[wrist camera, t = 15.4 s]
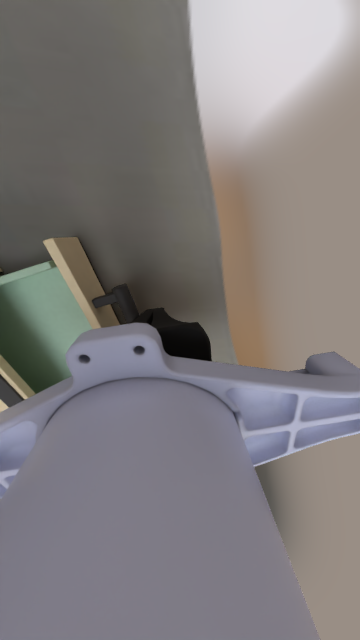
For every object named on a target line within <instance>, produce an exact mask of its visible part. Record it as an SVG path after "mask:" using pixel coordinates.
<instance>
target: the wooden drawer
mask: <svg viewBox="0 0 360 640" xmlns="http://www.w3.org/2000/svg"><path fill="white" fill-rule="evenodd" d="M43 243H44V245H45V246H46V248H47V250H48V252H49V253H50V255H51V257H52V259H53V260H51V261H47V262H44V263H41V264H38V265H35V266H31V267H28V268H25V269H22V270H19V271H16V272H13V273H10V274H6V275H3V276H0V355H1V356H2V357H3V358H4V359H5V360H6V361H7V362H8V364H9V365H10V366H11V367H12V368H13V369H14V370H15V371H16V372H17V374H18V375H19V376H20V377H21V378H22V379H23V380H24V381H25V382H26V384H27V385H28V386H29V387H30V388H31V389H32V390H33V391H34V392H35V394H37V393H39V392H41V391H43V390H45V389H47V388H49V387H51V386H53V385H55V384H57V383H59V382H61V381H63V380H65V379H67V378H69V377H71V376H72V374H71V372H70V370H69V368H68V366H67V363H66V357H65V354H66V353H67V351H68V349H69V348H70V346H71V345H72V344H73V343H74V342H75V340H76V339H77V338H78V337H79V336H80V334H81V333H84V332H86V331H88V330H91V329H98V328H104V327H111V326H117V325H120V324H119V322H118V320H117V318H116V316H115V314H114V311H113V309H112V307H111V305H110V304H112V303H116V302H118V304H119V306H120V308H121V310H122V313H123V315H124V317H125V319H126V321H127V323H128V324H129V323H131V322H132V321H133V320H135V319H136V318H137V317H139V316H140V315H139V313H138V310H137V308H136V305H135V303H134V301H133V298H132V296H131V294H130V291H129V289H128V287H127V285H126V284H121V285H118V286H116V287H114V288H113V289H112V291H113V292H112V293H109V294H106V295H105V293H104V291H103V289H102V287H101V285H100V283H99V281H98V279H97V277H96V275H95V273H94V271H93V269H92V266H91V264H90V262H89V260H88V258H87V256H86V254H85V252H84V250H83V248H82V246H81V244H80V242H79V240H78V238H77V237H65V238H50V239H47V240H44V241H43Z"/></svg>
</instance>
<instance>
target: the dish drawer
mask: <svg viewBox="0 0 360 640" xmlns="http://www.w3.org/2000/svg"><path fill="white" fill-rule="evenodd" d="M2 271H3V270H2V269H1V268H0V272H2ZM33 395H35V392H34V391H33V390H32V389H31V388H30V387H29V386H28V385H27V384H26V382H25V381H24V380H23V379H22V378H21V377H20V376H19V375H18V374H17V372H16V371H15V370H14V369H13V368H12V367H11V366H10V365H9V364H8V362H7V361H6V360H5V359H4V358H3V357H2V356H1V355H0V412H2V411H4V410H6V409H8V408H10V407H12V406H14V405H16V404H18V403H20V402H22V401H23V400H25V399H27V398H29V397H31V396H33Z"/></svg>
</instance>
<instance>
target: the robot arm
mask: <svg viewBox="0 0 360 640" xmlns="http://www.w3.org/2000/svg"><path fill="white" fill-rule="evenodd" d="M65 357H66V363H67V366H68V368H69V370H70V372H71V374H72V376H71V377H69V378H67V379H65V380H63V381H61V382H59V383H57V384H55V385H53V386H51V387H49V388H47V389H45V390H43V391H41V392H39V393H37V394H35V395H33V396H31V397H29V398H27V399H25V400H23V401H22V402H20V403H18V404H16V405H14V406H12V407H10V408H8V409H6V410H4V411H2V412H0V499H1V500H0V640H320V638H319V635H318V632H317V630H316V627H315V624H314V622H313V619H312V617H311V614H310V611H309V609H308V606H307V604H306V601H305V598H304V596H303V593H302V591H301V588H300V585H299V583H298V580H297V578H296V575H295V572H294V570H293V567H292V565H291V562H290V559H289V557H288V554H287V552H286V549H285V546H284V544H283V541H282V539H281V536H280V534H279V531H278V528H277V526H276V523H275V520H274V518H273V515H272V513H271V510H270V507H269V505H268V502H267V500H266V497H265V494H264V492H263V489H262V487H261V484H260V481H259V479H258V476H257V474H256V471H255V468H254V467H256V466H258V465H261V464H264V463H267V462H269V461H272V460H275V459H278V458H281V457H283V456H286V455H289V454H292V453H294V452H297V451H300V450H302V449H305V448H308V447H311V446H314V445H317V444H320V443H323V442H326V441H330V440H334V439H337V438H341V437H345V436H349V435H355V434H359V433H360V369H359V368H357V367H356V366H355V365H353V364H352V363H350V362H349V361H347V360H346V359H344V358H343V357H342V356H340V355H338V354H337V353H336V352H328V353H322V354H316V355H312V356H310V357H309V358H308V359H307V361H306V367H305V369H301V370H295V371H289V372H287V371H279V370H271V369H264V368H256V367H249V366H242V365H234V364H227V363H219V362H212V360H211V346H210V341H209V338H208V336H207V334H206V332H205V331H204V329H203V328H202V327H201V325H200V324H199V323H198V322H193V323H187V322H181V321H178V320H175V319H173V318H172V317H170V316H169V315H168V314H167V313H166V312H165V310H164V308H163V307H162V308H156V309H149V310H146V311H145V312H143V313H142V314H141V315H140V316H139V317H137V318H136V319H135V320H133V321H132V322H131V323H129V324H124V325H117V326H111V327H104V328H98V329H91V330H88V331H86V332H84V333H81V334H80V336H79V337H78V338H77V339H76V340H75V342H74V343H73V344H72V345H71V346H70V348H69V349H68V351H67V353H66V354H65Z"/></svg>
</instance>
